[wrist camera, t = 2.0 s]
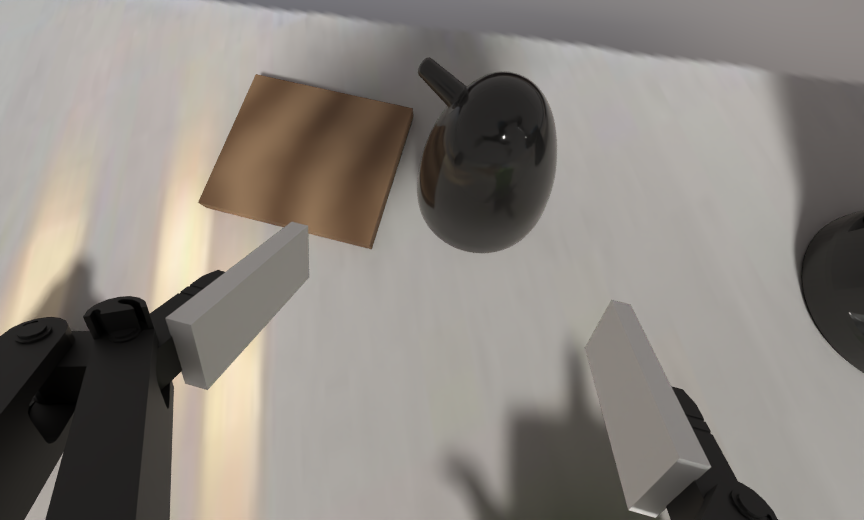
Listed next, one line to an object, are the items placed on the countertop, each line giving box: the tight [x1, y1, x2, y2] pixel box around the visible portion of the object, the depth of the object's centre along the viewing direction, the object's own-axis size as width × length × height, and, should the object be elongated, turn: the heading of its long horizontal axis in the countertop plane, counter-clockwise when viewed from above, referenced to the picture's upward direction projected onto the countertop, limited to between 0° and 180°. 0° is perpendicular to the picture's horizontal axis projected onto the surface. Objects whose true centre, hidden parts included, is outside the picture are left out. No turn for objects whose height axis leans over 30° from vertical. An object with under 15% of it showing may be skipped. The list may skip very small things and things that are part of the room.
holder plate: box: [198, 74, 413, 249], centre depth 33 cm, size 16×14×1 cm
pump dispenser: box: [417, 58, 557, 253], centre depth 25 cm, size 10×10×15 cm
